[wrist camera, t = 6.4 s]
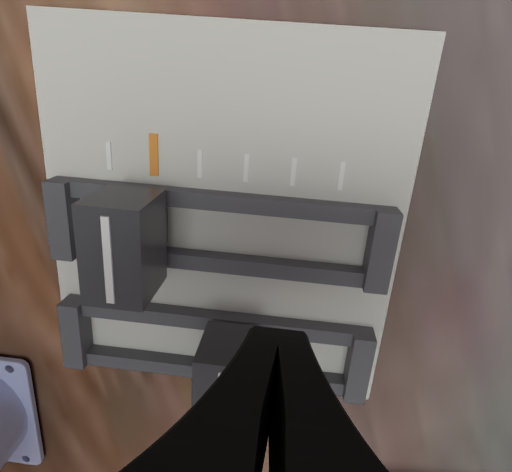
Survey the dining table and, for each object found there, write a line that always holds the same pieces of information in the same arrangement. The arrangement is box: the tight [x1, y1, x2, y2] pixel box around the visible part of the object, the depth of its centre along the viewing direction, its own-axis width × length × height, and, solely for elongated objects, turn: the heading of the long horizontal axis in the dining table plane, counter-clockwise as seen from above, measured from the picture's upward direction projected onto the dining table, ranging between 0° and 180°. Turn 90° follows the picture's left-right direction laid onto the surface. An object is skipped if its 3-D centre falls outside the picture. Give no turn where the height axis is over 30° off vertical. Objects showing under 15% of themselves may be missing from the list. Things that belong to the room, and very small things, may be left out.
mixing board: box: [26, 5, 446, 405], centre depth 18 cm, size 16×17×2 cm
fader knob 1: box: [71, 184, 168, 313], centre depth 17 cm, size 2×4×4 cm, turn 176°
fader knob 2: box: [192, 320, 253, 406], centre depth 18 cm, size 2×4×4 cm, turn 176°
